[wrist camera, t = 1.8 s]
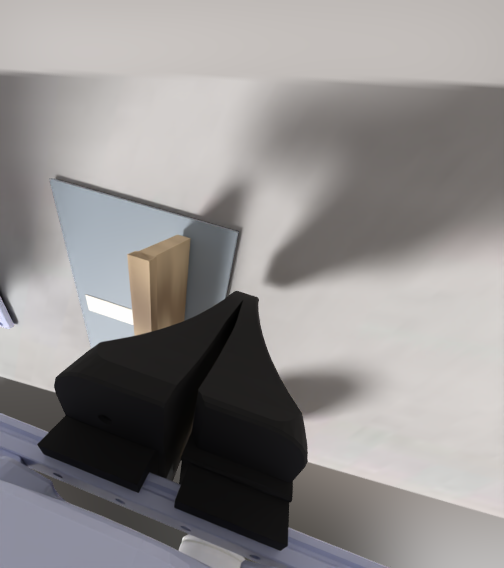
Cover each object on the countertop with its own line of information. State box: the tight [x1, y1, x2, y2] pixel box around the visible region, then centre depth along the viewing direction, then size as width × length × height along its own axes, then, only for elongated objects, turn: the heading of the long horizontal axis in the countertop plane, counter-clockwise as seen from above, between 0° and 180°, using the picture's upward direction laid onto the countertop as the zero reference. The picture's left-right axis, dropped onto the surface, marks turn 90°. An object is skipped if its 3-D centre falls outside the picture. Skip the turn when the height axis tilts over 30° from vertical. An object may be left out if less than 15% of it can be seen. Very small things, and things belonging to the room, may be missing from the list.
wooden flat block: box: [127, 235, 190, 336], centre depth 11 cm, size 7×1×4 cm, turn 166°
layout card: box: [49, 179, 239, 349], centre depth 15 cm, size 12×16×1 cm
